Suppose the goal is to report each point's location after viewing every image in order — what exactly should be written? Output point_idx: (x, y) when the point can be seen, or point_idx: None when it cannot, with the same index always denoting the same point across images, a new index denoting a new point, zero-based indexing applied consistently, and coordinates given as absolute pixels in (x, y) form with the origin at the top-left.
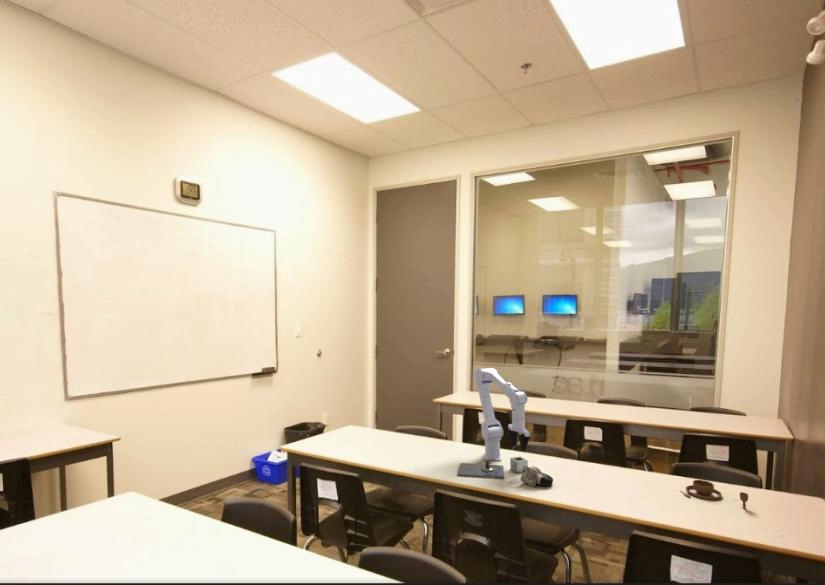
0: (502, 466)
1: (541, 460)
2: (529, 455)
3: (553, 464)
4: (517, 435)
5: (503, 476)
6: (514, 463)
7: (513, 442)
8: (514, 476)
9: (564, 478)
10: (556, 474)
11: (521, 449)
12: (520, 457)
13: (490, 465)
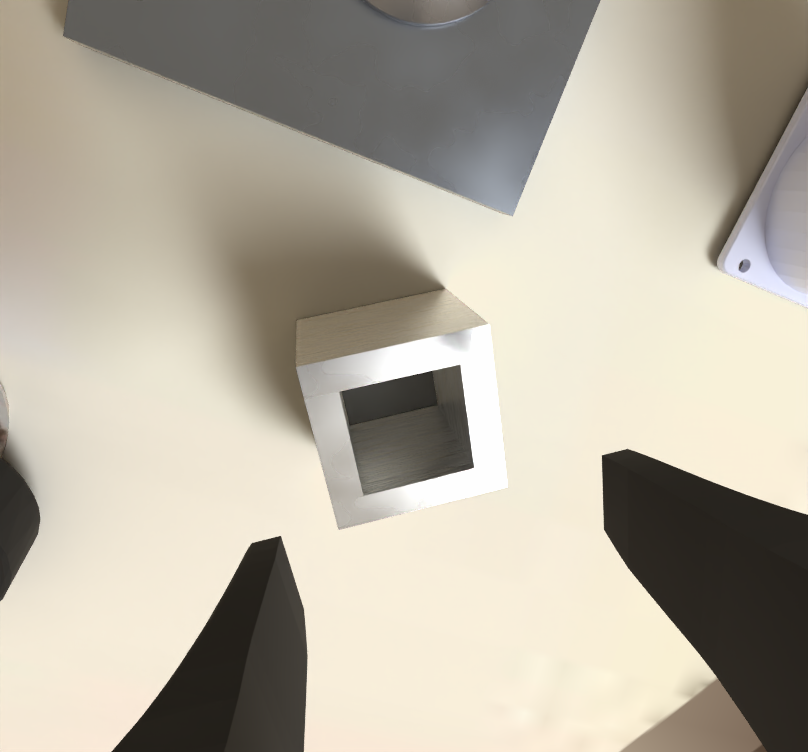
0: (478, 188)
1: (588, 648)
2: None
3: (471, 709)
4: (770, 747)
5: (65, 27)
6: (365, 335)
7: (651, 519)
8: (178, 242)
9: (106, 712)
10: None
11: (246, 560)
12: (469, 472)
13: (558, 15)
